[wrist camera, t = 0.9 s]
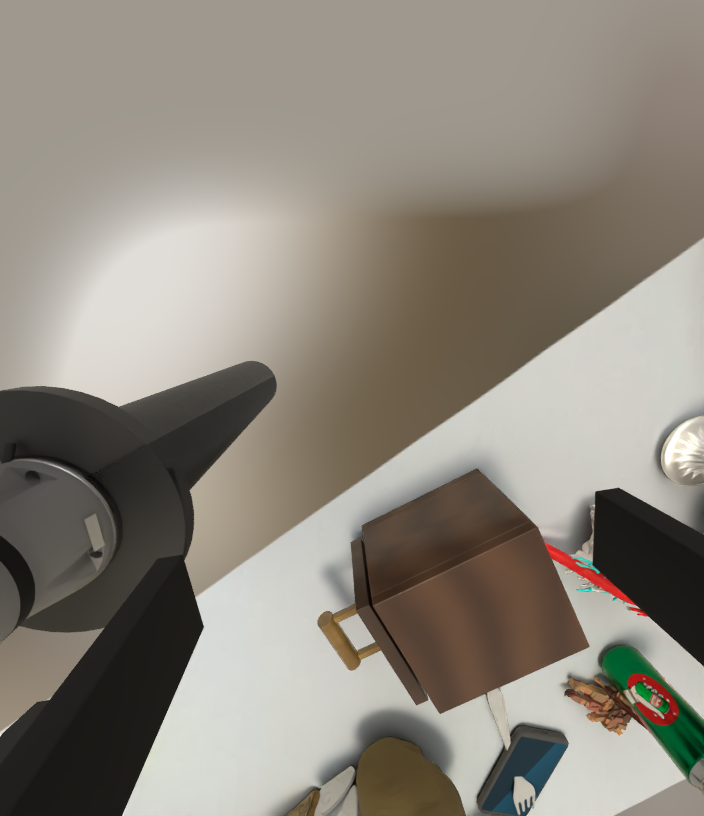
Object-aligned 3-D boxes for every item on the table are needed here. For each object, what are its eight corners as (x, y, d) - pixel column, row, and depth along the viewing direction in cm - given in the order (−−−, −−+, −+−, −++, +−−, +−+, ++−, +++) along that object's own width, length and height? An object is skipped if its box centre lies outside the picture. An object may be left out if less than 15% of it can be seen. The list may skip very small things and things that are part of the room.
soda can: (635, 671, 43) (749, 800, 31) (596, 676, 42) (696, 808, 31) (639, 639, 41) (758, 760, 30) (599, 644, 41) (703, 769, 30)
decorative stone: (498, 806, 41) (486, 944, 34) (423, 770, 48) (400, 877, 41) (427, 730, 37) (397, 867, 30) (357, 703, 44) (318, 808, 37)
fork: (480, 692, 41) (473, 679, 43) (524, 833, 45) (515, 816, 47) (503, 681, 41) (495, 668, 43) (544, 822, 46) (535, 805, 47)
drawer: (356, 639, 38) (363, 729, 30) (306, 563, 36) (297, 638, 27) (498, 572, 37) (548, 646, 29) (457, 489, 35) (499, 542, 26)
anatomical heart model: (541, 511, 44) (688, 582, 36) (517, 565, 41) (671, 656, 33) (563, 467, 35) (770, 550, 27) (533, 533, 32) (756, 650, 24)
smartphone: (473, 803, 47) (476, 812, 46) (516, 723, 44) (520, 731, 43) (521, 810, 48) (525, 820, 47) (567, 733, 44) (572, 741, 44)
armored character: (572, 654, 43) (635, 681, 44) (548, 695, 43) (611, 721, 44) (660, 762, 31) (745, 798, 32) (626, 817, 32) (711, 850, 32)
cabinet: (411, 610, 39) (439, 714, 28) (361, 525, 36) (372, 606, 26) (519, 559, 38) (590, 647, 28) (477, 468, 35) (538, 526, 25)
